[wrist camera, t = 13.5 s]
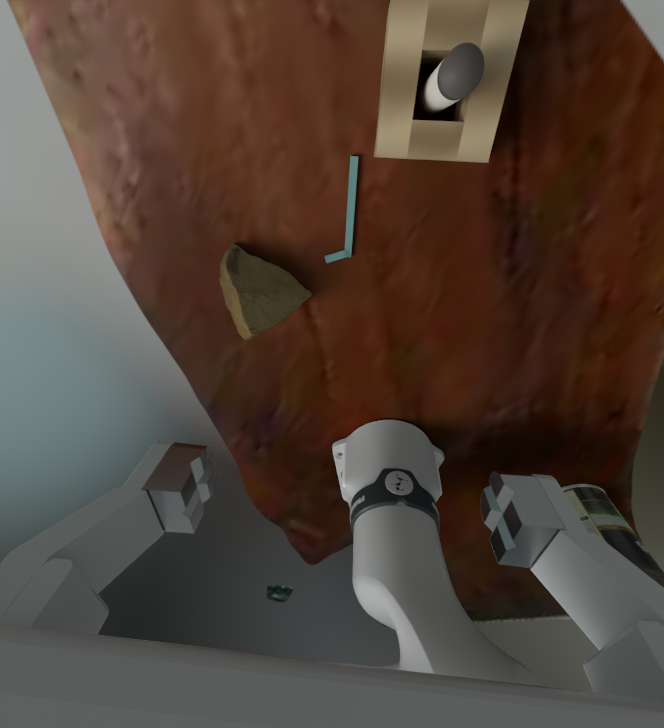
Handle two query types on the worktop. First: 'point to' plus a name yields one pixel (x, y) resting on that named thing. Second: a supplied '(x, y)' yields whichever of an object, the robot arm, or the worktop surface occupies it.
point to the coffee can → (611, 526)
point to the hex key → (348, 214)
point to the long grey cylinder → (452, 78)
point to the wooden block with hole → (430, 46)
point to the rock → (257, 292)
